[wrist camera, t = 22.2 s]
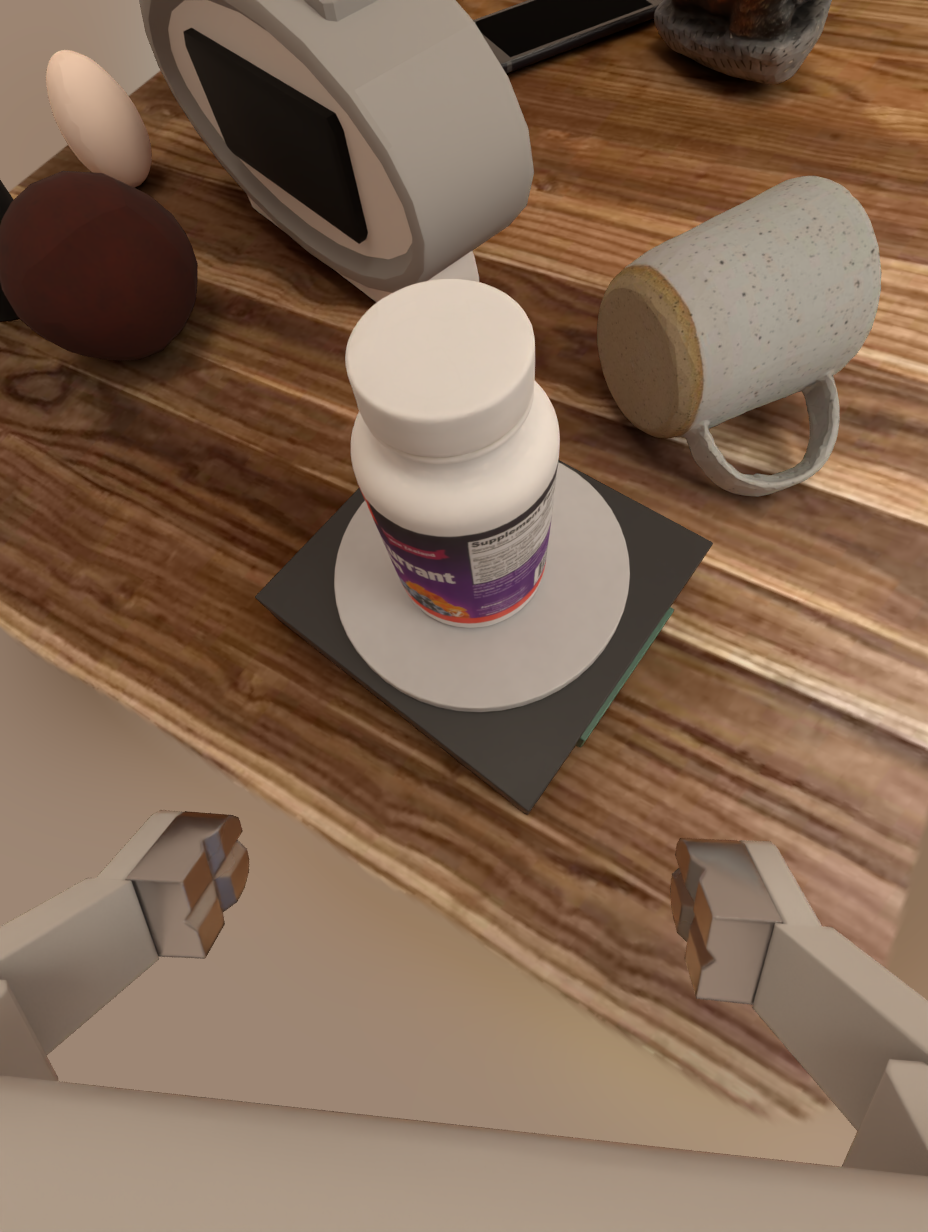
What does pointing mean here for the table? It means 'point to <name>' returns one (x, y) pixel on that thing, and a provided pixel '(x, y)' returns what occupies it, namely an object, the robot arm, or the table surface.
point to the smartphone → (556, 27)
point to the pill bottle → (455, 447)
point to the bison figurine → (744, 34)
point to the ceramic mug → (744, 322)
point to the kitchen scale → (498, 631)
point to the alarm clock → (354, 126)
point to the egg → (98, 118)
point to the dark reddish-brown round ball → (97, 266)
